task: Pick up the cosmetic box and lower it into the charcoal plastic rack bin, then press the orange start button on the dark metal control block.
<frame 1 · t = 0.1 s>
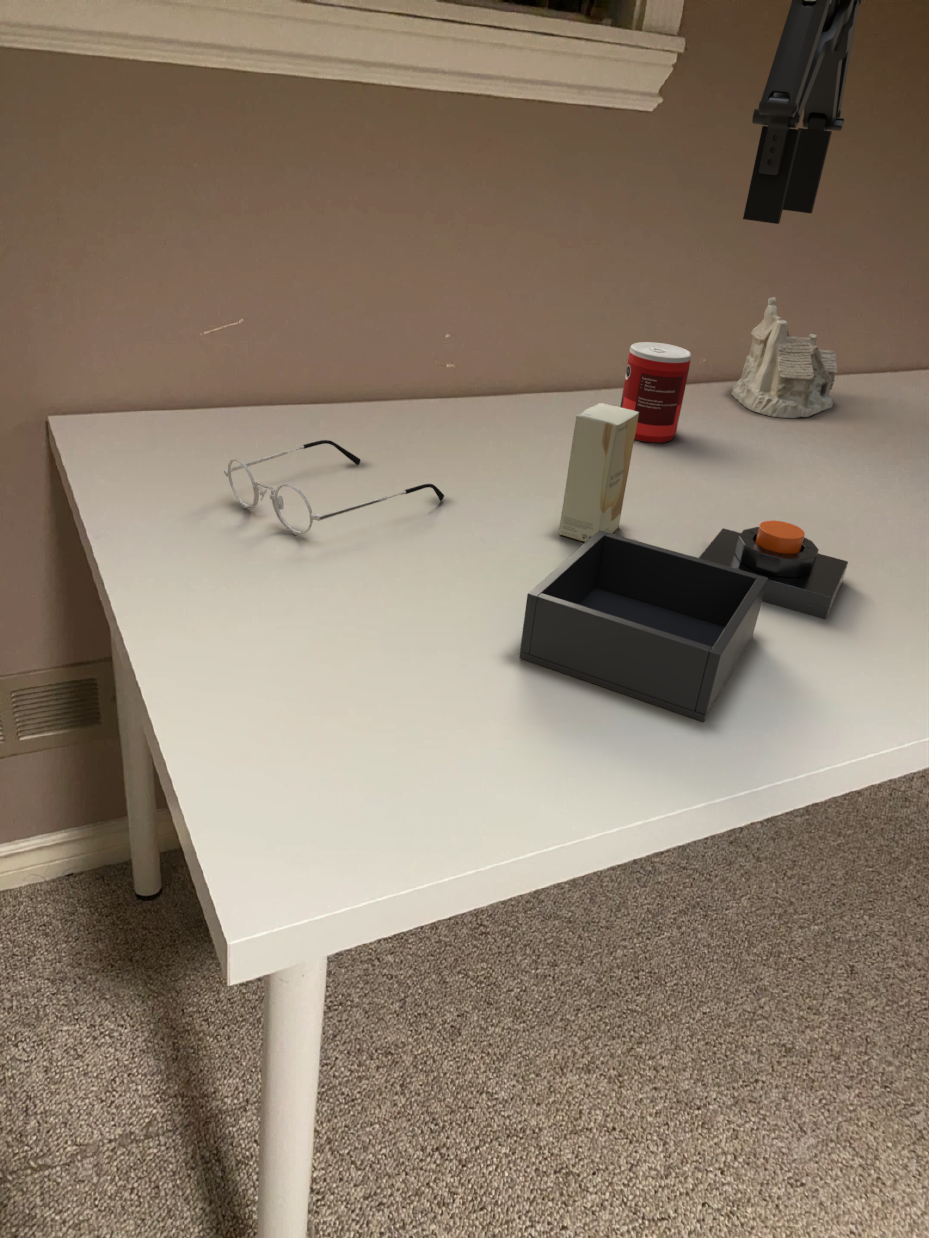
hand: (779, 216, 79), 30 cm above the table, tool pointing down, fingers open, 13 cm apart
ceramic cottage: (784, 404, 144), on the table
control block: (768, 581, 88), on the table
eyeglasses: (334, 503, 96), on the table
start button: (779, 538, 86), point 4 cm above the table, slide at 0.1 cm
cosmetic box: (589, 533, 95), on the table
rack bin: (640, 647, 76), on the table
canned food: (645, 435, 125), on the table
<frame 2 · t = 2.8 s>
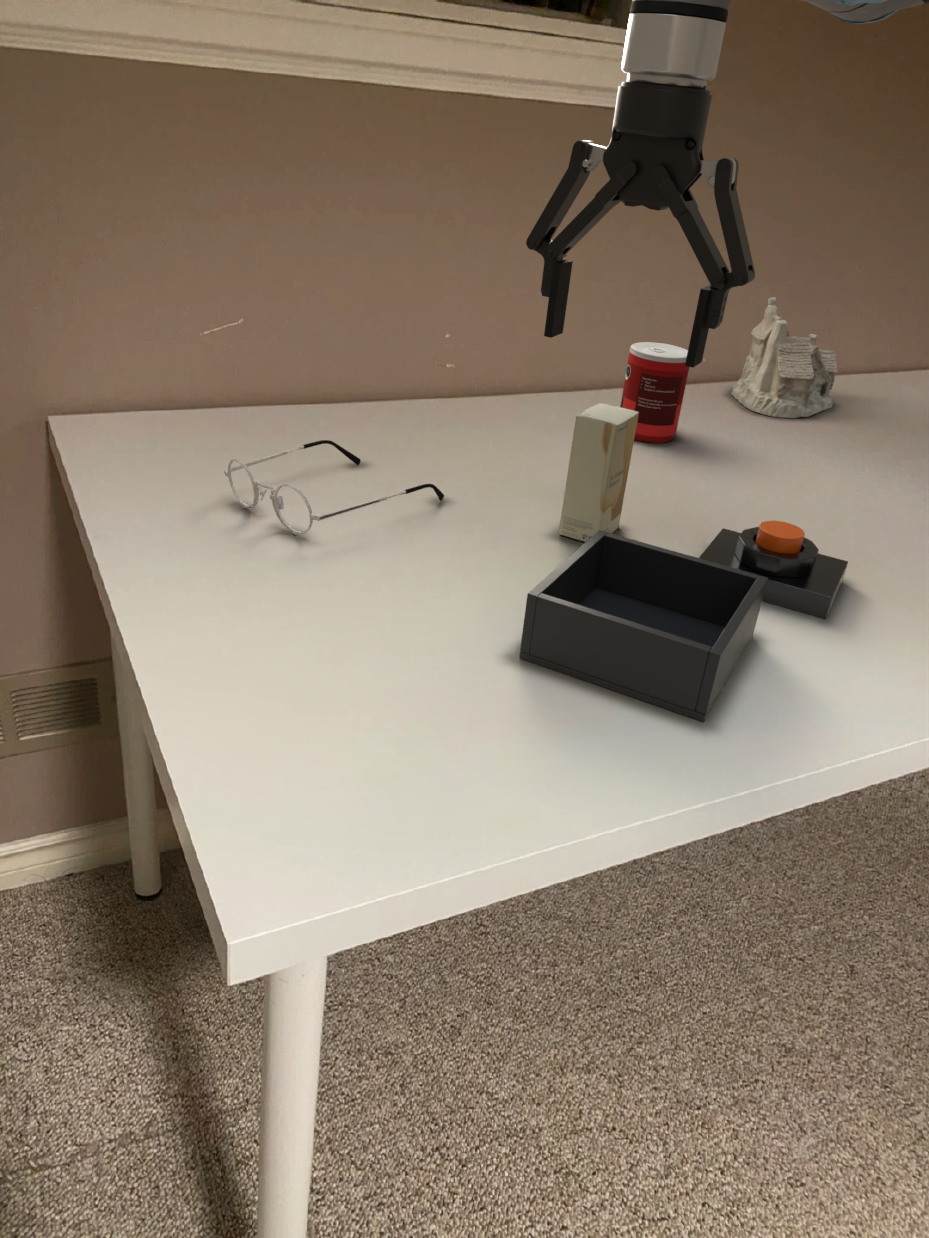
hand: (621, 349, 86), 18 cm above the table, tool pointing down, fingers open, 13 cm apart
nothing on the table moved.
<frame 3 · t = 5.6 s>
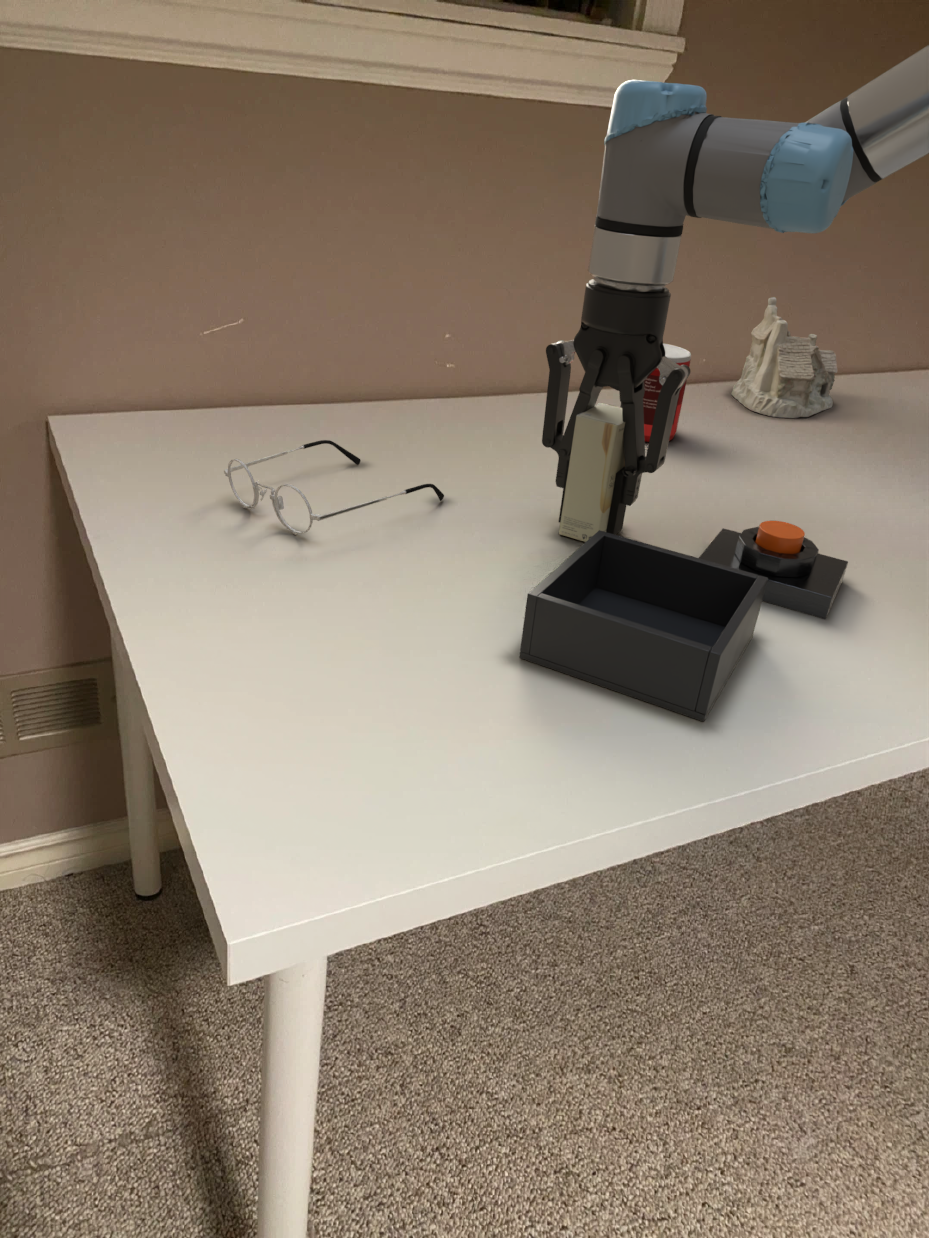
hand: (590, 525, 95), 1 cm above the table, tool pointing down, fingers closed on cosmetic box, 4 cm apart
cosmetic box: (589, 533, 95), on the table, touching gripper
everything else where it was.
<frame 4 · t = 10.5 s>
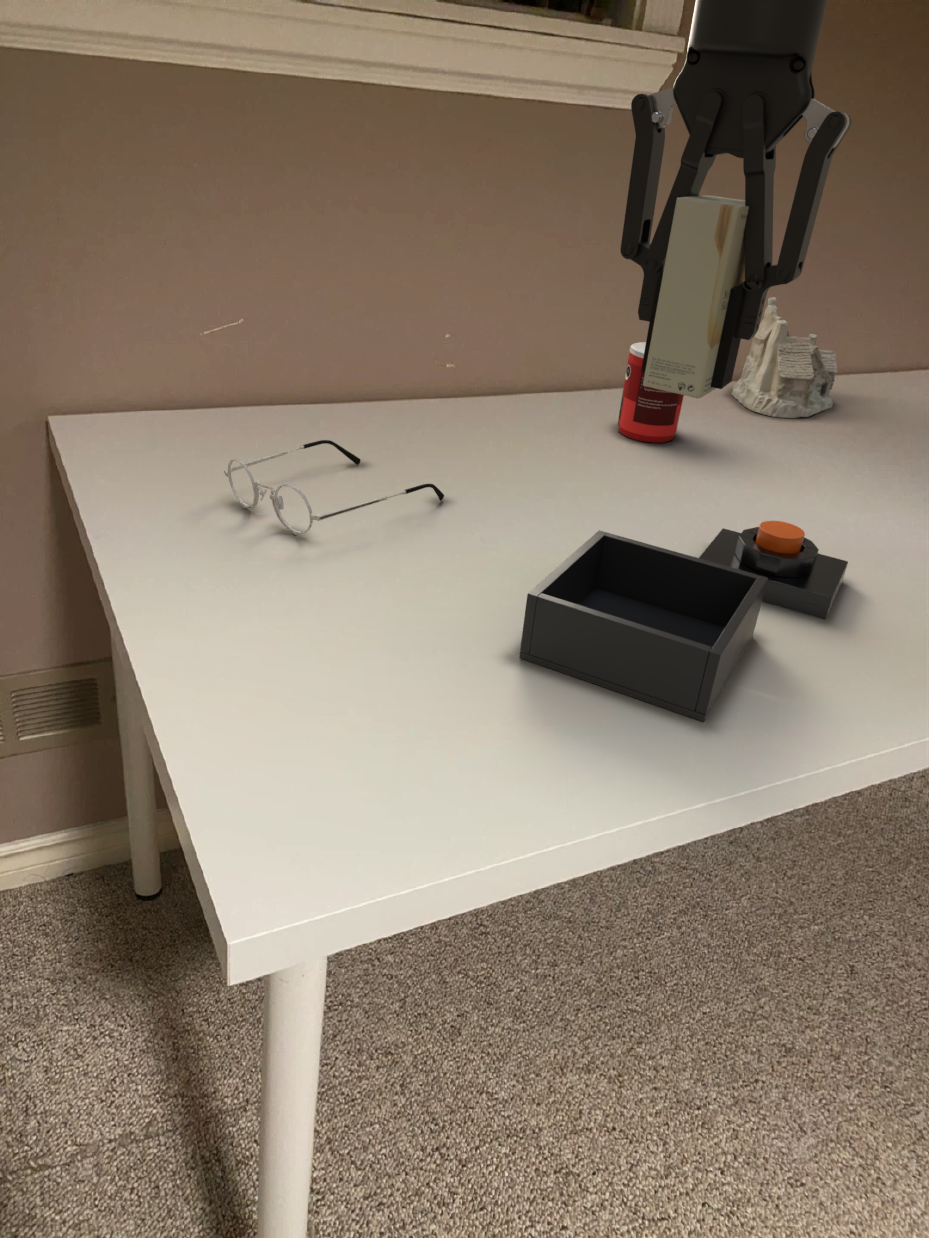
hand: (686, 376, 67), 21 cm above the table, tool pointing down, fingers closed on cosmetic box, 4 cm apart
cosmetic box: (683, 388, 67), point 20 cm above the table, touching gripper
everything else where it was.
when the fingers open (1 cm above the table, at t = 15.5 s): cosmetic box stays where it is, resting on rack bin.
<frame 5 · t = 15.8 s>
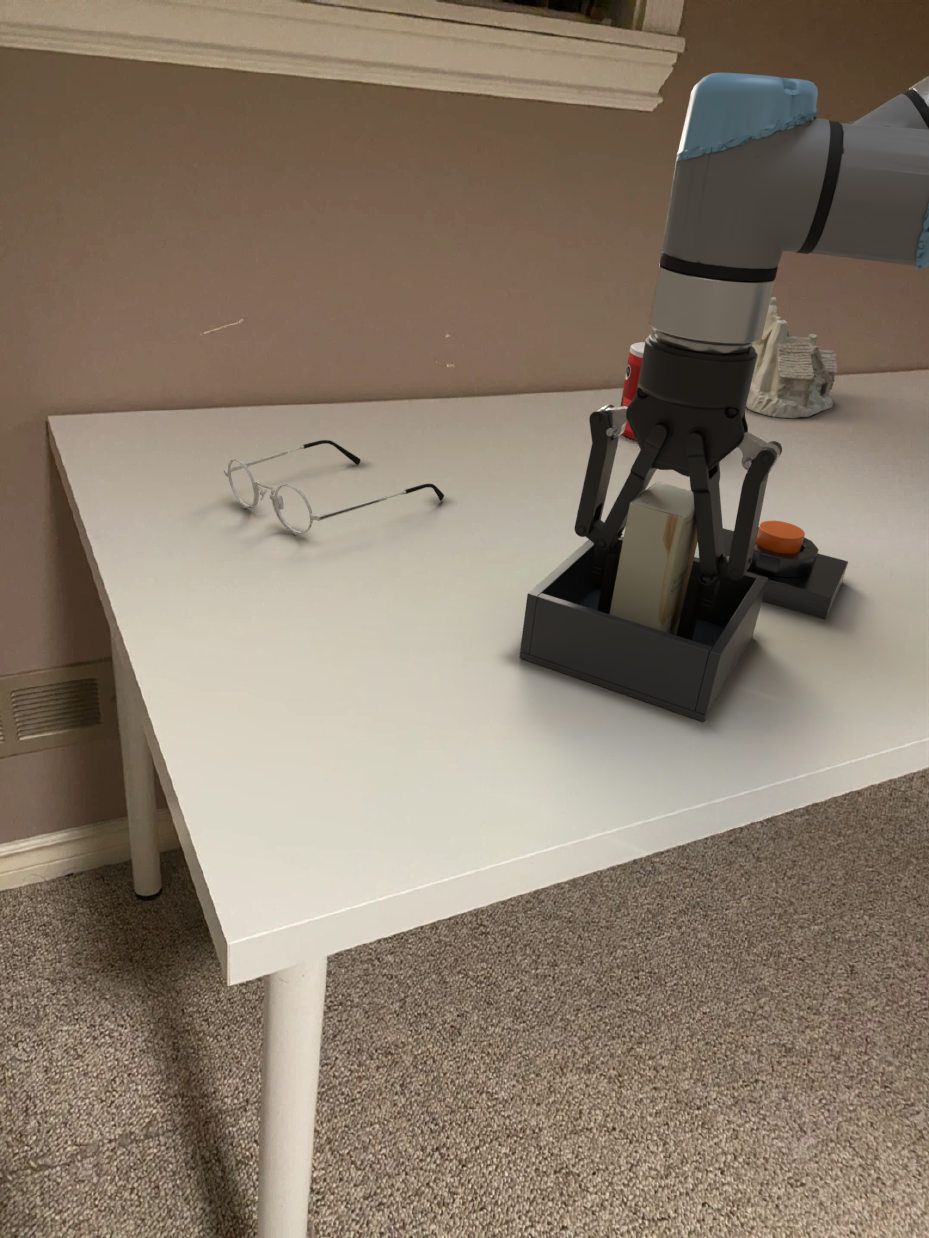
hand: (642, 634, 75), 1 cm above the table, tool pointing down, fingers open, 6 cm apart
cosmetic box: (640, 642, 75), resting on rack bin
everything else where it was.
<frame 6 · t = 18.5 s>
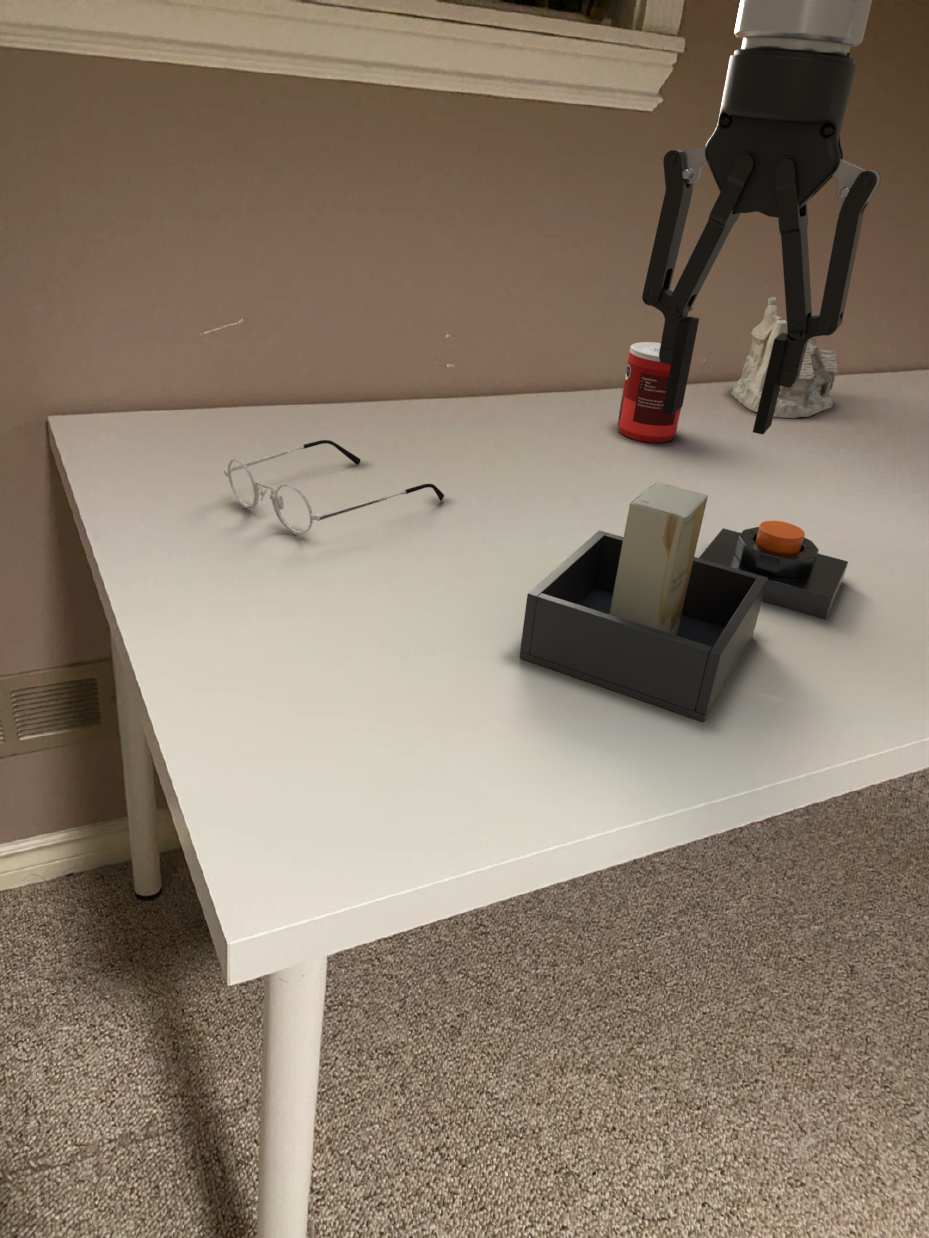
hand: (716, 418, 69), 18 cm above the table, tool pointing down, fingers open, 6 cm apart
nothing on the table moved.
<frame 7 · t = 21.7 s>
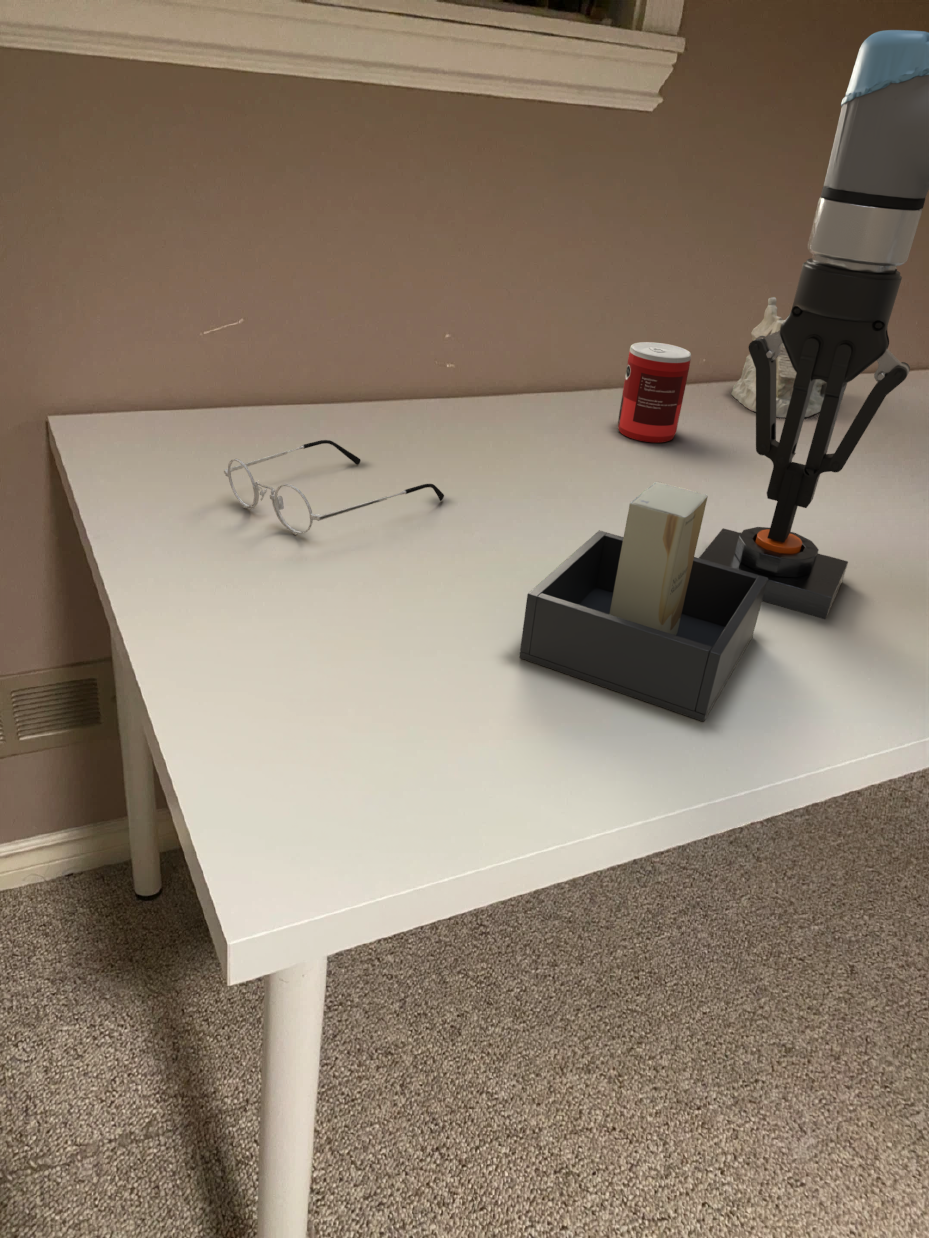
hand: (778, 535, 86), 5 cm above the table, tool pointing down, fingers closed
start button: (777, 547, 86), point 4 cm above the table, slide at -0.8 cm, touching gripper
everything else where it was.
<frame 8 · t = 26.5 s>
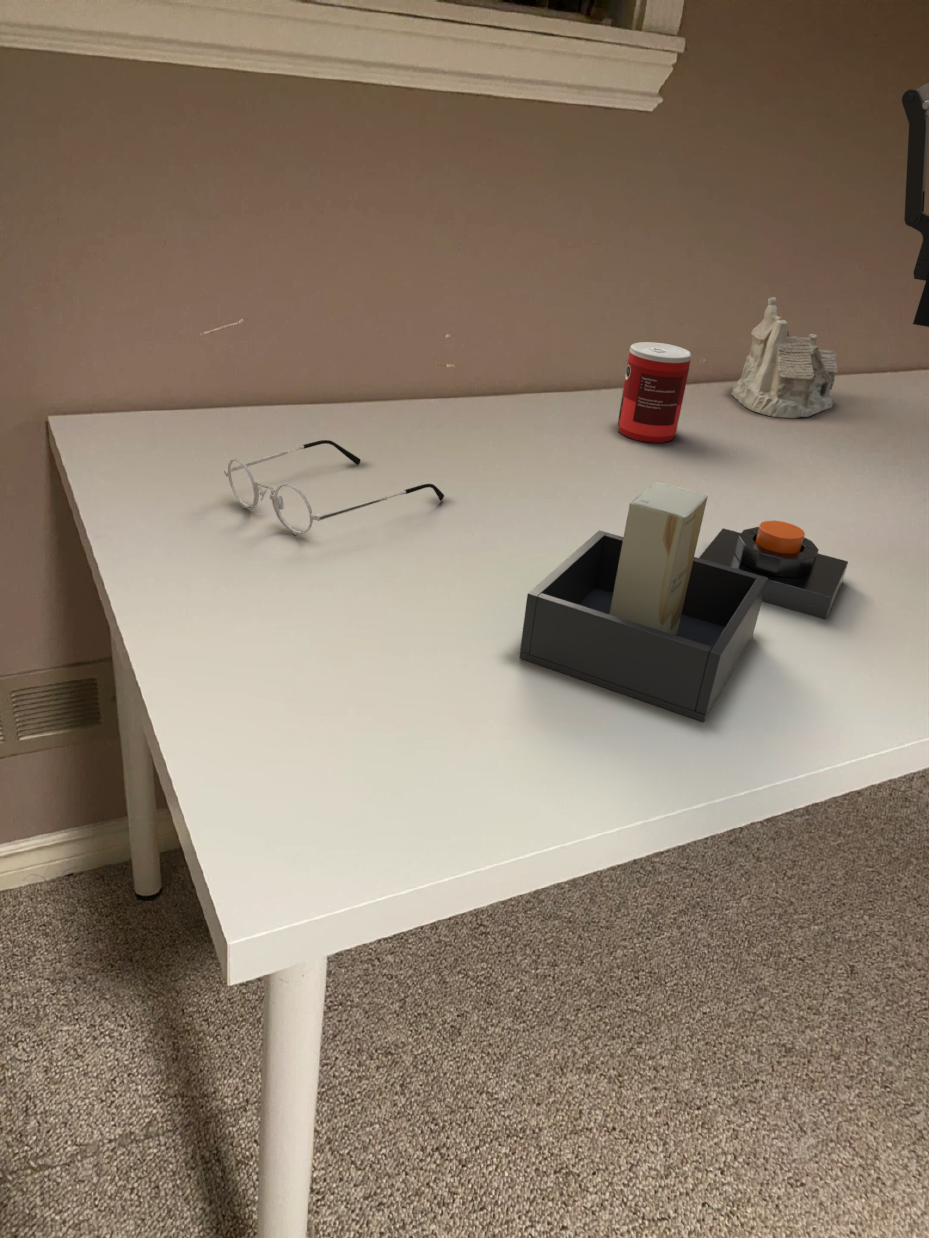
hand: (923, 323, 79), 24 cm above the table, tool pointing down, fingers closed
start button: (779, 538, 86), point 4 cm above the table, slide at 0.1 cm
everything else where it was.
at the end: cosmetic box inside the target area in the rack bin (0.0 cm from its centre), point 0.4 cm above the rack bin's base; start button pushed in 1.3 cm at the most during the clip, back to where it started at the end; start button slide at 0.1 cm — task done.
